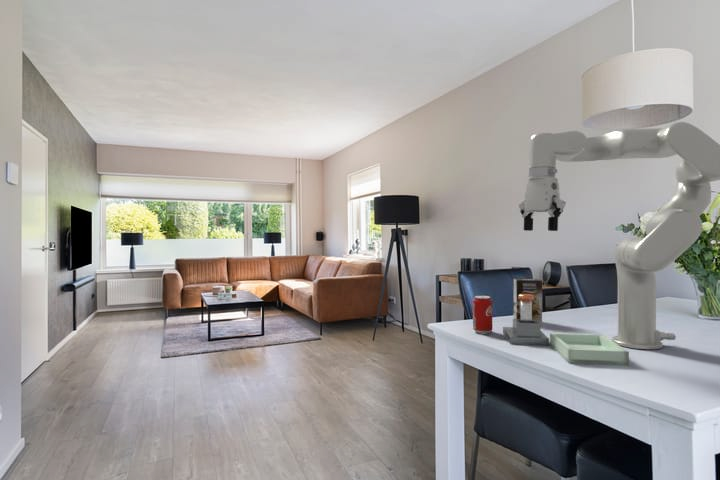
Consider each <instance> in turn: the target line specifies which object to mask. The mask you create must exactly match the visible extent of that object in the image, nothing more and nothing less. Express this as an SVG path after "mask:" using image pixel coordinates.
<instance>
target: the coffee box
mask: <svg viewBox="0 0 720 480" xmlns="http://www.w3.org/2000/svg"><path fill="white" fill-rule="evenodd" d="M519 294H531V295H534V299H533V300H532V319H535V320H536V321H538V322H539V323H540V325H543V280H541V279H538V278H513V314H512V315H513V316H512V317H513V318H512V320H513V319H521V305H520V299H518V295H519Z"/></svg>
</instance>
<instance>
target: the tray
mask: <svg viewBox="0 0 720 480" xmlns="http://www.w3.org/2000/svg"><path fill="white" fill-rule="evenodd" d="M549 335H550V337H549V346H551V347H552V348H553V349H554V351H556V352H557V353H558V354H559V355H560V356H561V358H563V359H564V360H565V361H566V362H567V363H568V364H583V365H584V364H585V365H603V366H604V365H605V366H606V365H607V366H608V365H610V366H630V352H629V350H627V349H625V348H623V346H620V345H617V344H616V343H614V342H612V339H609V338H607V337H606V336H605V335H603V334H599V333H598V334H593V333H565V332H564V333H563V332H559V333H556V332H550V333H549Z"/></svg>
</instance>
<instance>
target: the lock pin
mask: <svg viewBox="0 0 720 480" xmlns="http://www.w3.org/2000/svg"><path fill="white" fill-rule="evenodd" d="M518 299H520V305H521V323H532V300H533V299H534V295H531V294H519V295H518Z"/></svg>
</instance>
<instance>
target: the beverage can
mask: <svg viewBox="0 0 720 480" xmlns="http://www.w3.org/2000/svg"><path fill="white" fill-rule="evenodd" d="M472 330H474V332H475V333H477V334H483V335H484V334H486V335H487V334H490V333H491V332H492V331H493V300H492V299H491V296H489V295H475V296H474V298H473V300H472Z"/></svg>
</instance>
